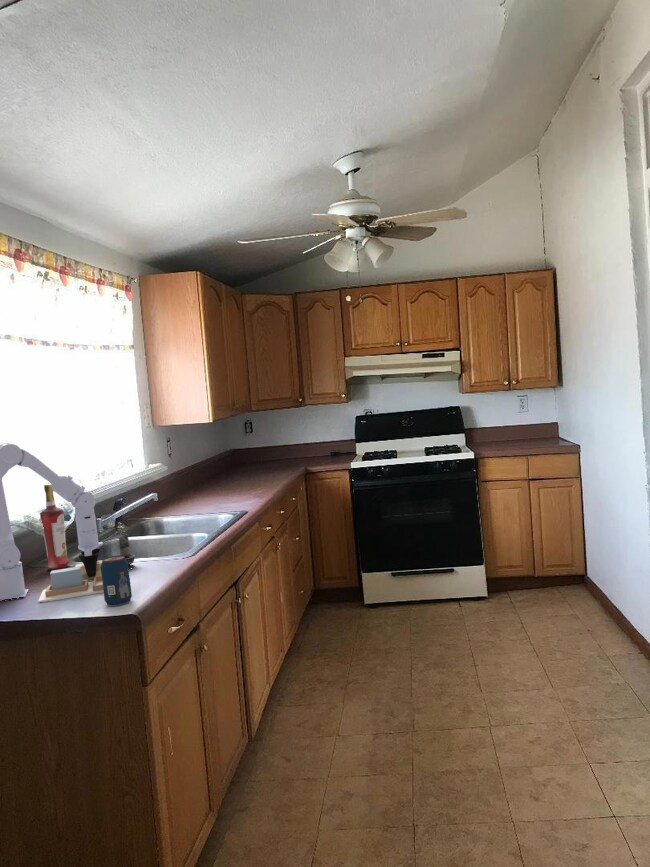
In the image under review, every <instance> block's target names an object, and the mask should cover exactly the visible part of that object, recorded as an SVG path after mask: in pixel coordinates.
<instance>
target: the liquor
mask: <svg viewBox="0 0 650 867" xmlns="http://www.w3.org/2000/svg"><path fill="white" fill-rule="evenodd" d="M43 487H44V488H43V489H44V493H45V507H46V508H45V509H44V510H42V511H41V512H40V513H39V516H40V521H41V520H42V523H43V527H44V534H43V538H44V543H45V550H46V557H47V562H48V564H47V566H46V567H48V568H49V569H50V570H51V571H54V570H60V569H66V567H67V566H68V565H69V563H70V561H69V560H68V551H67V540H66V525H65V514H64V509H63V508H61V507H57V505H56V502H55V501H56V500H55V498H54V491H53V490H52V487H51V483H48V484H44V485H43ZM42 523H41V524H42Z"/></svg>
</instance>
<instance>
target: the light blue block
mask: <svg viewBox="0 0 650 867" xmlns="http://www.w3.org/2000/svg"><path fill="white" fill-rule="evenodd" d="M49 574H50V575H49V576H50V582H51V585H52V590H55V589H61V588H68V587H74V586H80V585H83V579H82V571H81V566H80V567H75V566H74V567H68V568H63V569H59V570H51V571H50V573H49Z"/></svg>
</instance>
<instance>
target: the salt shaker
mask: <svg viewBox="0 0 650 867" xmlns="http://www.w3.org/2000/svg"><path fill="white" fill-rule="evenodd" d="M118 541H119V542H118V544H119V545H118V547H119V552H120V553H119V555H122V556H125V559H126V561H127V562H128V569H129V570H132V569H131V568H133V569H135V568H136V565H134V564H133V563H134V561H135V557H136V555H135V554H132V552H131V549H130V545H131V544H130V543H129V536H128V534H127V533H125V532H124V530H122V531H121V533H120V534H119V535H118ZM134 567H135V568H134Z"/></svg>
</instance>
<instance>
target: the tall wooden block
mask: <svg viewBox="0 0 650 867" xmlns="http://www.w3.org/2000/svg"><path fill="white" fill-rule="evenodd" d="M101 564H102V560H97V564H96V576H100V575H101ZM80 566H81V571H82V579H83V580H87V579H88V582H93V581H94V577H88V575H87V573H86V569H85V566H84V564H83V563H79V564H78V563H77V564H75V566H74V567H80Z"/></svg>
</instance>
